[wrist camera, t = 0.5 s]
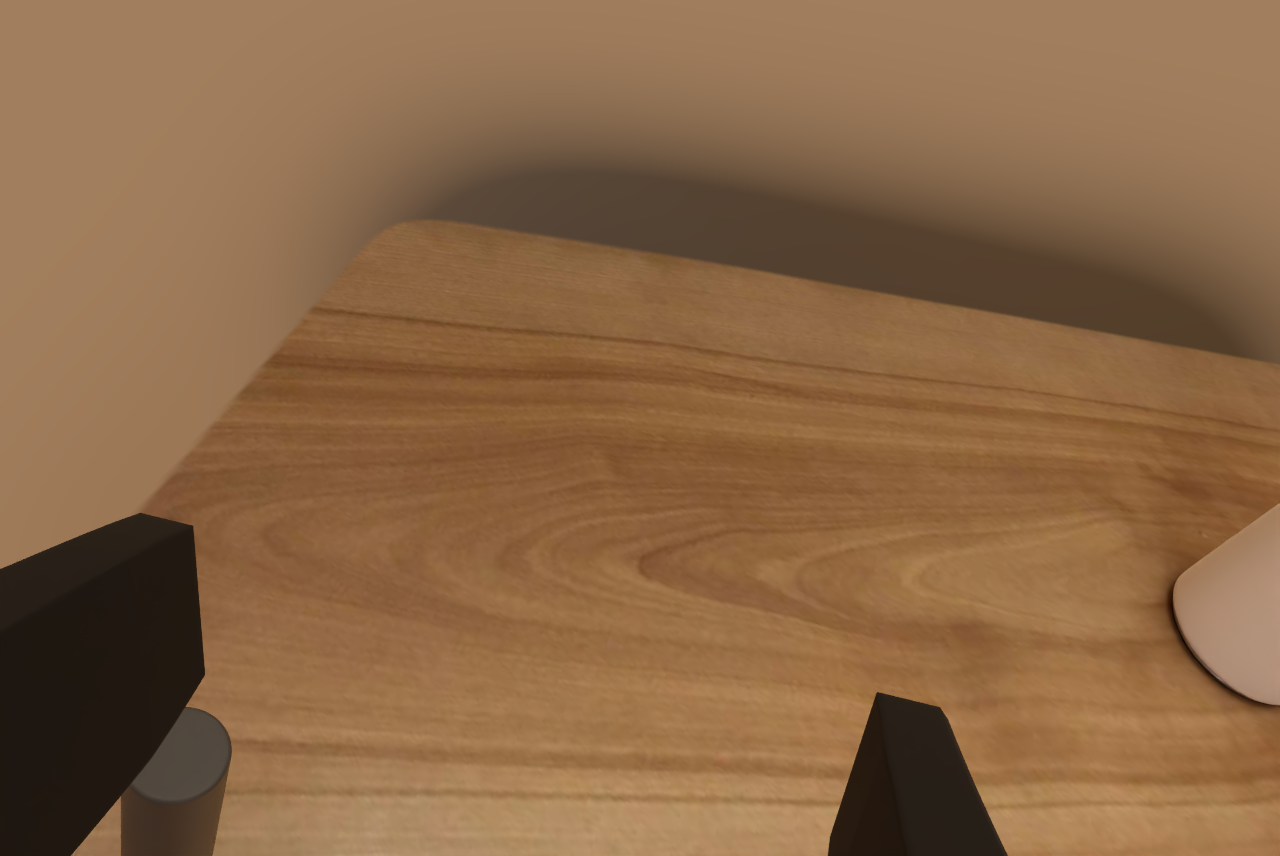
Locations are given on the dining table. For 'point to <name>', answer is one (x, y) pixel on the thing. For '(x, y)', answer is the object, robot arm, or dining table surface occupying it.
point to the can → (1236, 610)
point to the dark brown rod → (179, 791)
